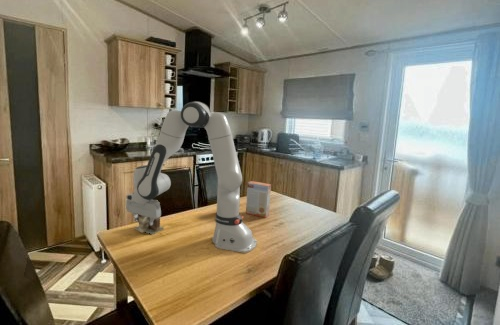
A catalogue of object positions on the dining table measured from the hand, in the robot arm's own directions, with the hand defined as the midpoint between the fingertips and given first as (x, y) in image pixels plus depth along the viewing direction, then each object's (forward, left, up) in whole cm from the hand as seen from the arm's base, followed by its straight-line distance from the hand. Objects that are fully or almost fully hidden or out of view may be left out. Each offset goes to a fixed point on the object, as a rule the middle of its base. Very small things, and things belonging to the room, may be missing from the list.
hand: (143, 222), depth 138 cm
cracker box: (-41, -55, -5) cm, 69 cm away
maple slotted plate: (0, -4, -4) cm, 6 cm away
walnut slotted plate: (0, -4, -5) cm, 6 cm away
